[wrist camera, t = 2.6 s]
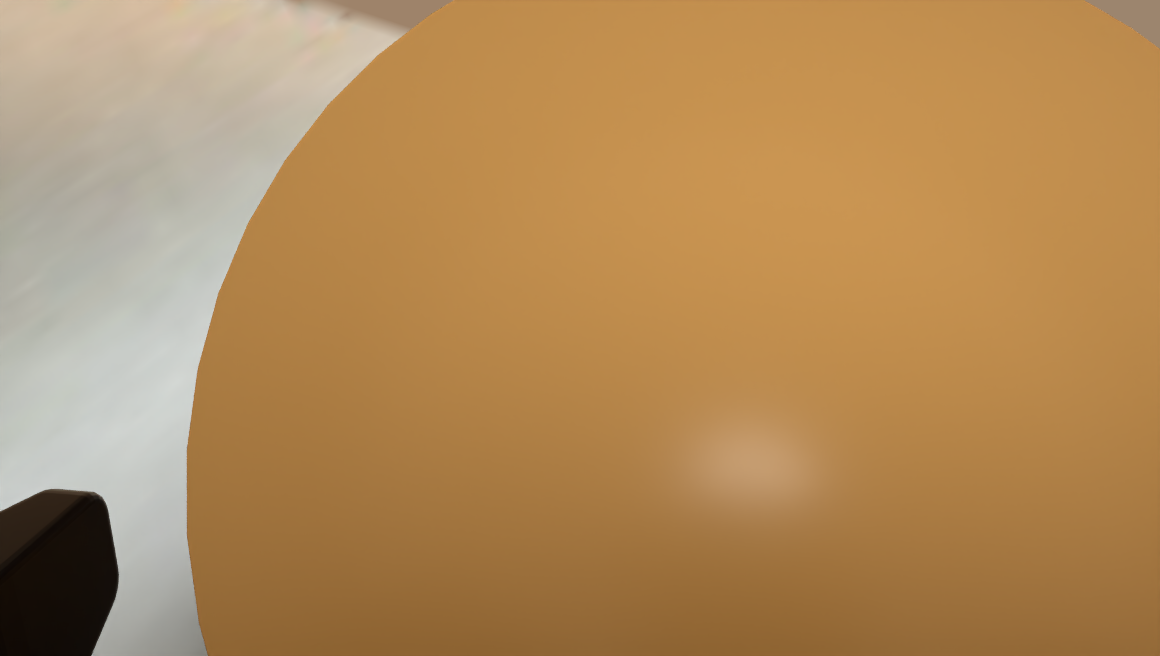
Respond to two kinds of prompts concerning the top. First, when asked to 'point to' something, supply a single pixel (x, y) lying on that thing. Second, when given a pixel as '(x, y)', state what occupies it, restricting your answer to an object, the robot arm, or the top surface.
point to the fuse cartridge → (698, 341)
